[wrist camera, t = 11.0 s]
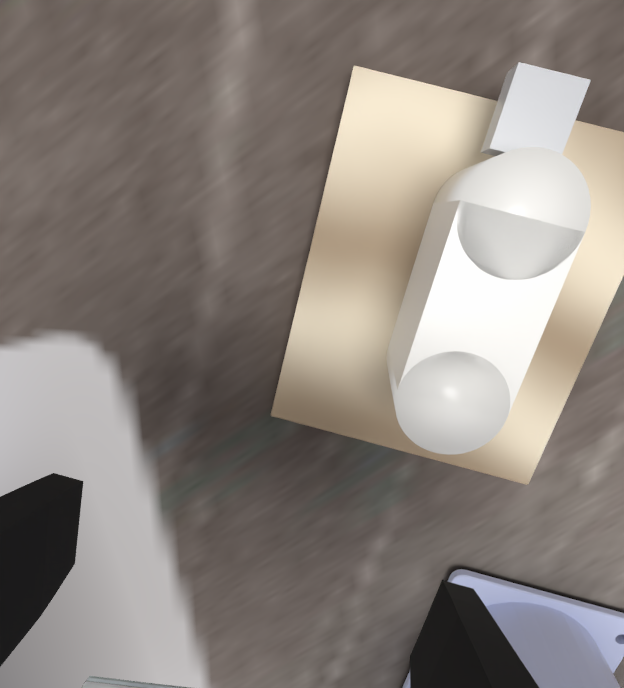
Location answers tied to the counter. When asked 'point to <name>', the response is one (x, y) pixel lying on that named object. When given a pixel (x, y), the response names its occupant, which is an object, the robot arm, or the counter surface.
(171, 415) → the counter surface
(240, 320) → the counter surface
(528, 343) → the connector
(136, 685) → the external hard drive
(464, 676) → the robot arm
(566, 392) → the birch board
